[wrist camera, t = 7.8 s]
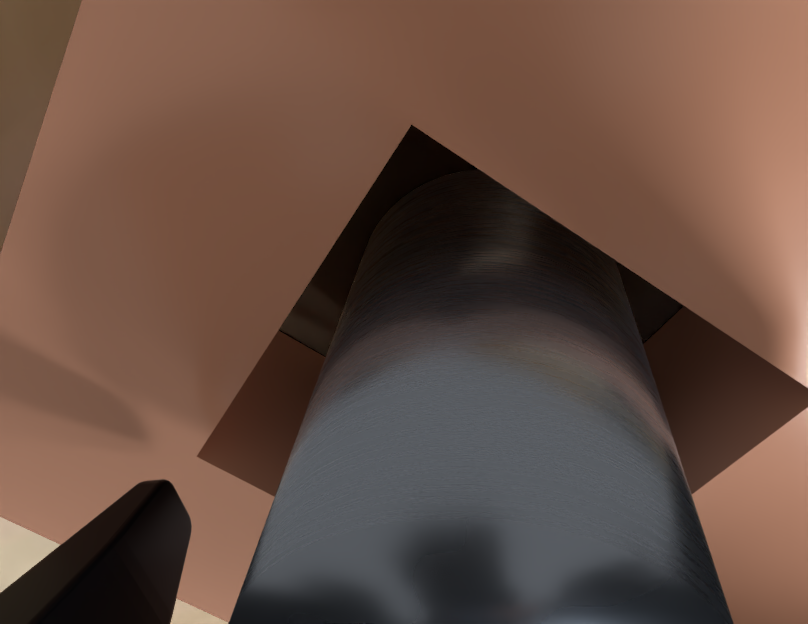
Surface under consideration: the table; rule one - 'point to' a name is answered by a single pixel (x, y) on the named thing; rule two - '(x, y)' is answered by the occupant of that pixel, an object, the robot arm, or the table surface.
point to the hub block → (337, 202)
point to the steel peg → (483, 440)
